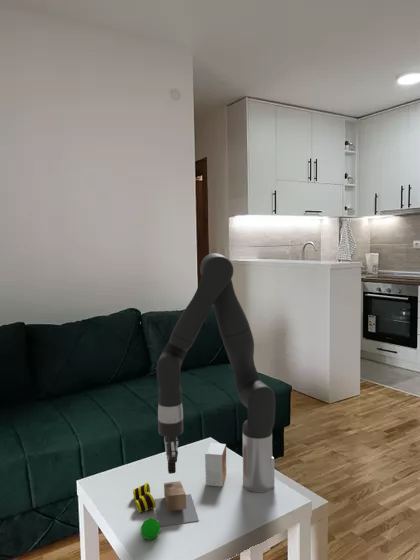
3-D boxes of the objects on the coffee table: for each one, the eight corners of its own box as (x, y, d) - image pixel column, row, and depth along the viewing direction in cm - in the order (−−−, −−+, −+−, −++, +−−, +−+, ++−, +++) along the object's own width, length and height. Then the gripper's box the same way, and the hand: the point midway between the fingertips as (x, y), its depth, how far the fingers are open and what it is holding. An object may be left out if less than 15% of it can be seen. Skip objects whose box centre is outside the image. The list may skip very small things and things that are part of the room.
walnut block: (180, 481, 135) (185, 493, 124) (180, 494, 134) (186, 508, 123) (163, 483, 134) (167, 496, 123) (164, 496, 133) (168, 511, 122)
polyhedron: (137, 539, 114) (136, 522, 114) (149, 528, 119) (148, 512, 118) (152, 546, 112) (152, 528, 112) (164, 534, 116) (163, 517, 116)
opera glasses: (134, 499, 134) (130, 484, 133) (151, 493, 135) (147, 478, 135) (139, 518, 125) (135, 502, 124) (157, 511, 126) (153, 495, 125)
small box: (222, 487, 138) (222, 455, 137) (205, 485, 139) (204, 453, 138) (226, 474, 146) (226, 443, 145) (210, 472, 147) (209, 442, 146)
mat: (190, 494, 134) (190, 494, 134) (198, 521, 122) (198, 520, 122) (154, 499, 132) (154, 499, 132) (159, 527, 119) (159, 526, 119)
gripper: (186, 425, 127) (187, 482, 128) (180, 408, 140) (181, 460, 141) (160, 427, 125) (161, 485, 127) (156, 410, 138) (157, 462, 140)
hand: (171, 472), depth 134 cm, fingers closed
